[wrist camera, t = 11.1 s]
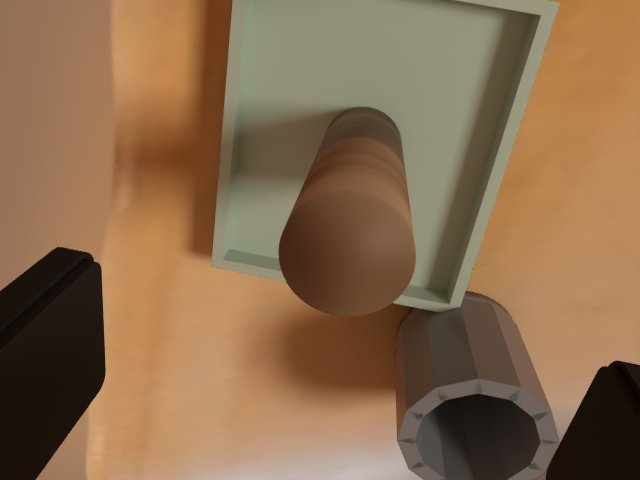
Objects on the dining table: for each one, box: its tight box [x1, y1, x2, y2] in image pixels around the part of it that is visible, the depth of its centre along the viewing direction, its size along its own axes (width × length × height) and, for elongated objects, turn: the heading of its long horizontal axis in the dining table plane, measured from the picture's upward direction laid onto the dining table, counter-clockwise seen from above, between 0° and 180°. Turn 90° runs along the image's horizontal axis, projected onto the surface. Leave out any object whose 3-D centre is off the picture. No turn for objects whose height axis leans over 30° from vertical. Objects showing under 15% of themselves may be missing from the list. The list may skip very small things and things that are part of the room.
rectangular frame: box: [211, 0, 560, 312], centre depth 27 cm, size 16×14×2 cm
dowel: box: [278, 107, 416, 317], centre depth 21 cm, size 4×4×13 cm
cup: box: [395, 291, 560, 480], centre depth 28 cm, size 7×7×8 cm
